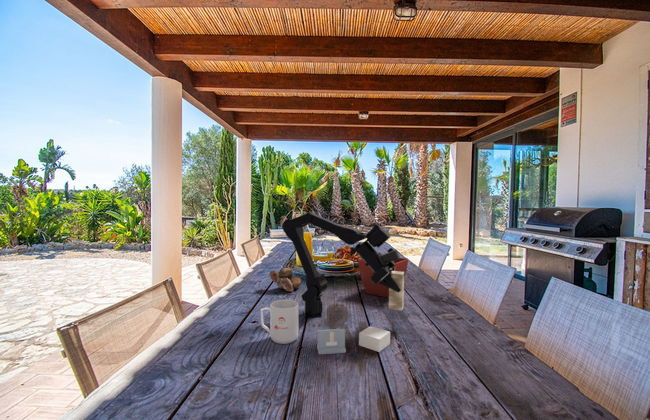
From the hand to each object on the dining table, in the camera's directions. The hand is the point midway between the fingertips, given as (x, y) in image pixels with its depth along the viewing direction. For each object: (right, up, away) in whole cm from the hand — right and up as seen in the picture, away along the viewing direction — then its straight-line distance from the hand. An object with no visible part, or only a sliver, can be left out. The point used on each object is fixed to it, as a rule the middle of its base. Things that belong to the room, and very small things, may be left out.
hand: (400, 289), depth 106 cm
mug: (-41, -13, -10) cm, 44 cm away
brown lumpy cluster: (-46, -13, +47) cm, 67 cm away
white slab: (-11, -14, -13) cm, 22 cm away
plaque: (-25, -13, -17) cm, 33 cm away
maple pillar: (-1, -7, +1) cm, 7 cm away
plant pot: (+2, -13, +43) cm, 45 cm away
